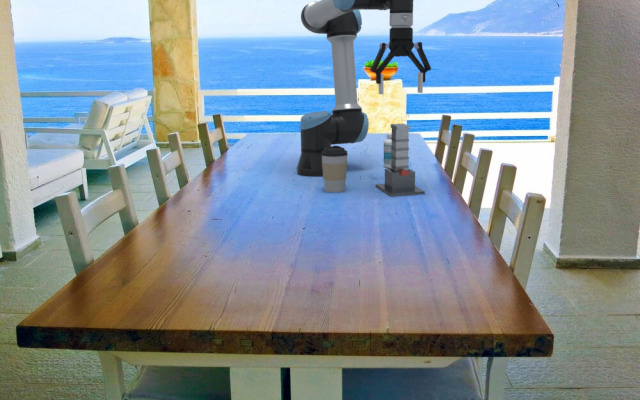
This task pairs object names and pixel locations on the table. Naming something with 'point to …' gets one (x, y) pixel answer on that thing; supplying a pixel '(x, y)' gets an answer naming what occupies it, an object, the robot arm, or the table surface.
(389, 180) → the stand
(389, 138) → the pill bottle
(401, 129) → the column
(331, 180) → the coffee cup
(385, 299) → the table surface
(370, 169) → the table surface
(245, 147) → the table surface
